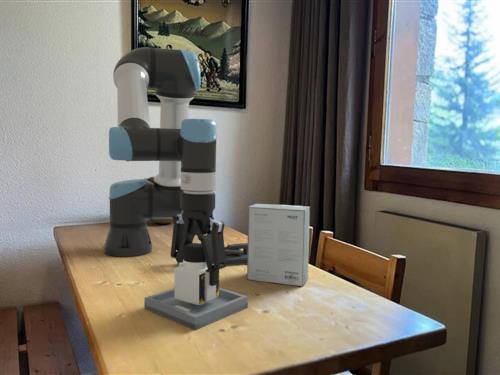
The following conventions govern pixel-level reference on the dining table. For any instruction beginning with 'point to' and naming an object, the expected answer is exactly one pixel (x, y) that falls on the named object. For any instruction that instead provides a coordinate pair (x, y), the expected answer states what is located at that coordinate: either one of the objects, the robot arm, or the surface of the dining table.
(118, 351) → the dining table surface
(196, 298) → the medicine bottle
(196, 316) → the tray
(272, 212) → the hard drive box
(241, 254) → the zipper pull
